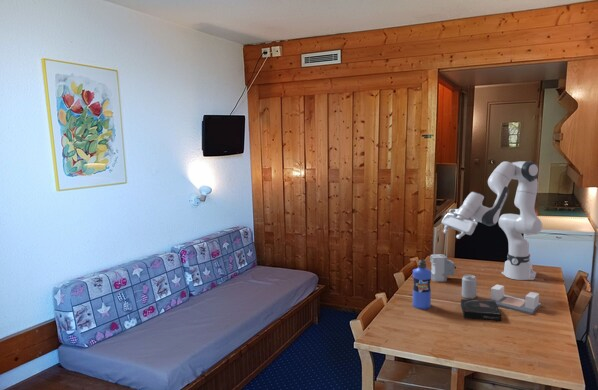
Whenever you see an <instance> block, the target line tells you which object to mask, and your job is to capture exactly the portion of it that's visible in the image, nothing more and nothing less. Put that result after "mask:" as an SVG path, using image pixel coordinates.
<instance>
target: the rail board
mask: <svg viewBox="0 0 598 390" xmlns="http://www.w3.org/2000/svg"><path fill="white" fill-rule="evenodd" d="M486 301H495V302H496V304H497V306H498V308H499V307H500V308H504V309H507V310H510V309H511V310H510V311H515V312H518V311H519V313H522V312H523V313H522V314H527V315H530V316H532V315H534V313H536V312H537V310H538V308H539V307H540V306H541V307H542V303H541V302H540V293H538V292H533V291H529V293H527V294H526V295H525V299H524V298H519V297H514V296H511V295H507V294H505V285H501V284H495V285H494V286H492V287H491V288H490V298H488V300H486ZM539 309H540V308H539Z"/></svg>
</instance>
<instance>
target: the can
mask: <svg viewBox="0 0 598 390" xmlns="http://www.w3.org/2000/svg"><path fill="white" fill-rule="evenodd" d="M477 281H478V279H477V278H476V276H475V275H473V274H464V275H463V277H462V278H461V296H462V297H463V299H467V300H475V298H476V297H477V291H478V290H477V288H478V287H477V286H478V283H477Z"/></svg>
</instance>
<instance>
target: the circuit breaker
mask: <svg viewBox="0 0 598 390" xmlns="http://www.w3.org/2000/svg"><path fill="white" fill-rule="evenodd" d="M429 257H430V258H429V262H430V263H431V280H432V282H433V283H435V282H448V276H455V270H456V269H457V267H456V265H455V262H453V261H452V260H451V259H448V257H447V255H445V254H442V253H440V254H438V253H437V254H436V253H435V254H430V256H429Z"/></svg>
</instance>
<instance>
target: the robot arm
mask: <svg viewBox="0 0 598 390" xmlns="http://www.w3.org/2000/svg"><path fill="white" fill-rule="evenodd" d="M539 170H540V169H539V165H538V164H537V163H536V162H533V161H530V160H529V161H525V160H524V161H523V160H522V161H521V160H520V161H513V162H512V161H511V162H510V161H505V160H504V161H502V162H500V164H498V165H497V166H496V168H494V170H493V171H492V173H490V176H489V177H488V179H487V185H488V187H489V188H490V190H491V191H492V192H493V193H494V194H495V195H496V199H495V200H494V203H493V205H492V207H488V206H485V205H483V201H484V198H485V196H484V195H483V194H481V193H479V192H476V191H470V193H469V194H468V195H467V196H466V198H464V201H463V202H462V205H461V206H459V208H450V209H449V210H448V212H447V213H446V214H445V215H444V217H443V218H442V220H441V224H442V225H443V228H444V230H443V231H442V233H444V234H445V235H447V233H448V232H449V231H448V229H452V230H456V231H457V232H459V234H456V236H455V238H456V239H459V240H460V239H461V238H462V237H463V236H465V235H468V236H472V234H473V233H474V232H475V229H476V227H477V226H478V223H481V224H483V225H485V226H488V227H492V226H495V225H496V224H497V223H498V227H499V228H501V230H502V231H503V232H504V234H505V236H506V238H507V242H508V253H507V256H506V257H507V258H506V259H507V260H506V261H504V268H503V271H501V274H502V275H503V276H505V277H506V278H508V279H512V280H517V281H529V280H530V281H533V280H535V279H536V276H537V272H536V271H534V270H533V267H534V266H533V264H532V263H531V261H530V258H531V254H530V253H529V252H530V244H529V242H528V240H527V239H525V237H524V236H523V234H524V235H530V236H531V235H538V234H540V233H541V231H542V230H543V223H542V221H541V219H540V218H539V217H538V216H537V214H536V210H535V207H536V206H535V205H536V199H537V193H538V186H539V184H538V182H539V181H538V175H539ZM512 180H516V181H518V184H517V188H516V192H515V197H514V200H513V201H514V202H513V203H514V206H515V207H516V208H518V209H519V214H516V213H503V214H501V212H502V211H503V208H504V205H505V204H506V201H507V199H508V197H509V193H510V189H509V187H508V186H509V184H510V182H511V181H512Z"/></svg>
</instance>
